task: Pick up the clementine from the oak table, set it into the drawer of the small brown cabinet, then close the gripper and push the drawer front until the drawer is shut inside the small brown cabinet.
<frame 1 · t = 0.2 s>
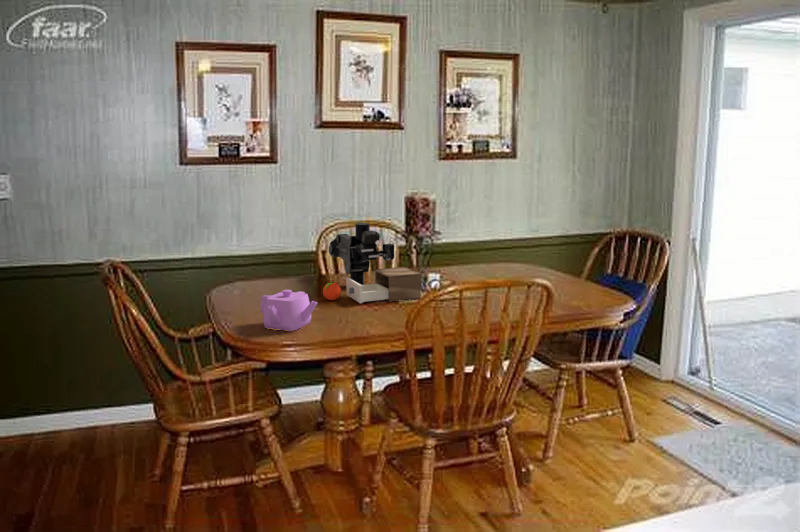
hand: (379, 257, 275), 17 cm above the table, tool horizontal, fingers open, 9 cm apart
clementine: (331, 300, 278), on the table
drawer: (367, 288, 278), point 4 cm above the table, slide at 11.0 cm
small brown cabinet: (397, 296, 284), on the table
teakettle: (288, 326, 243), on the table
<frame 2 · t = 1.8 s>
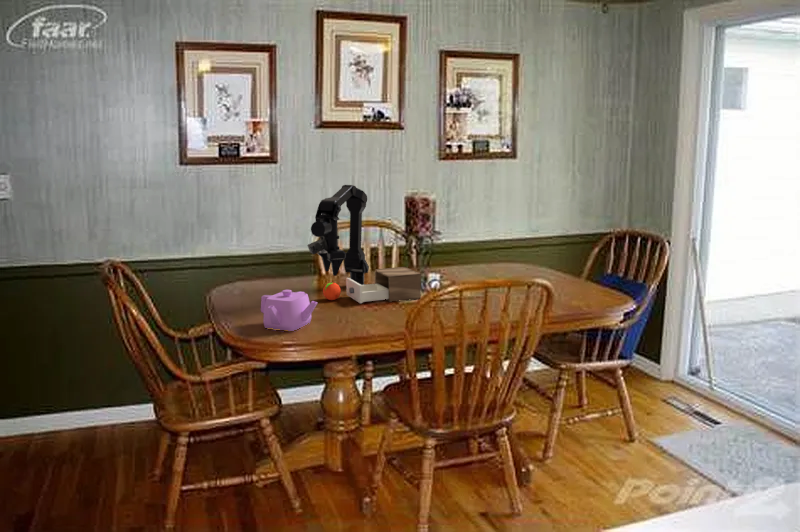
hand: (330, 273, 276), 11 cm above the table, tool pointing down, fingers open, 9 cm apart
nothing on the table moved.
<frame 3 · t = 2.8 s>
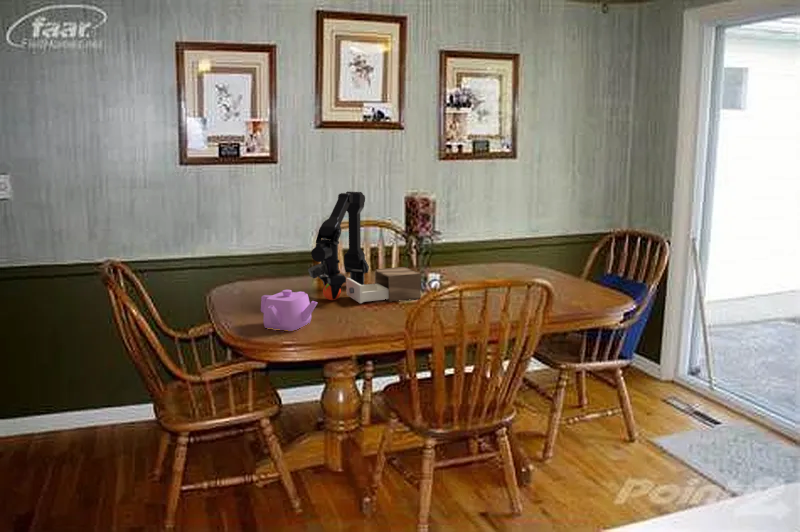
hand: (331, 296, 278), 1 cm above the table, tool pointing down, fingers closed on clementine, 7 cm apart
clementine: (331, 300, 278), on the table, touching gripper
everything else where it was.
when the fingers open (5 cm above the table, at t = 6.6 s): clementine drops 2 cm, resting on drawer.
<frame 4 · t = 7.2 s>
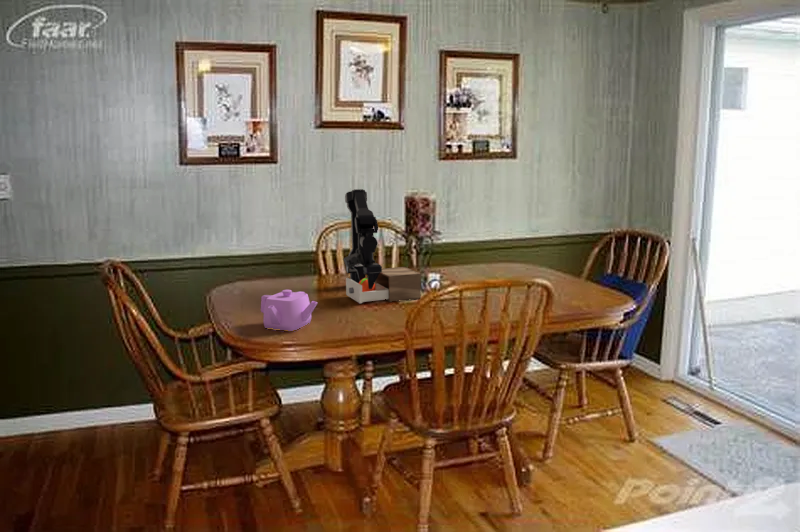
hand: (365, 286, 278), 5 cm above the table, tool pointing down, fingers open, 9 cm apart
clementine: (365, 296, 278), point 1 cm above the table, touching drawer
drawer: (366, 288, 278), point 4 cm above the table, slide at 11.1 cm, touching clementine
everything else where it was.
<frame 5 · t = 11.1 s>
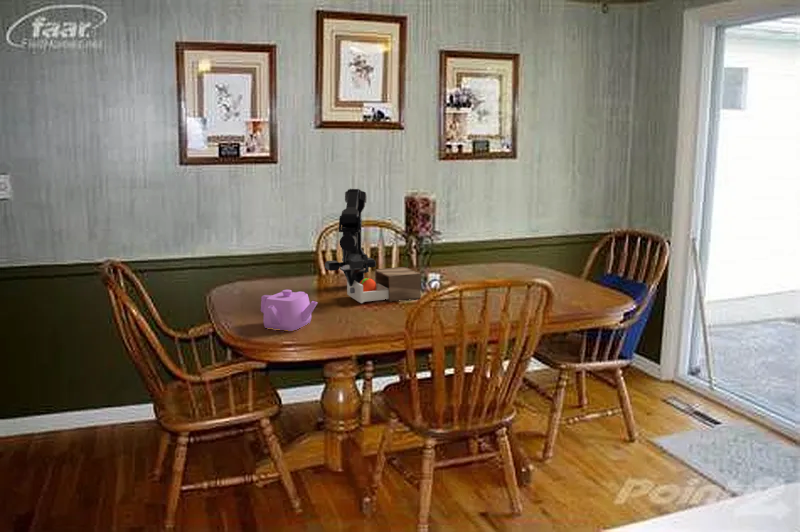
hand: (350, 286, 275), 6 cm above the table, tool pointing down, fingers closed
drawer: (367, 288, 278), point 4 cm above the table, slide at 10.7 cm, touching clementine, gripper
everything else where it was.
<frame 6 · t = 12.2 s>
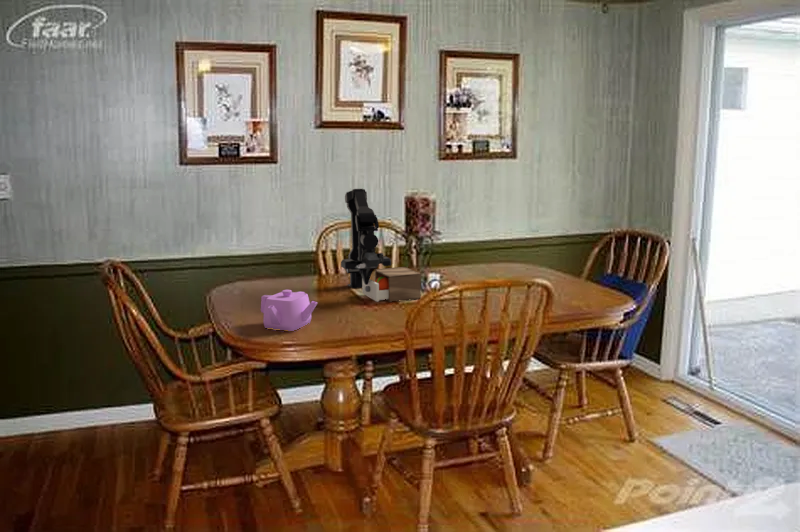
hand: (366, 284, 278), 6 cm above the table, tool pointing down, fingers closed
clementine: (382, 294, 281), point 1 cm above the table, touching drawer
drawer: (383, 287, 281), point 4 cm above the table, slide at 4.3 cm, touching clementine, gripper
everything else where it was.
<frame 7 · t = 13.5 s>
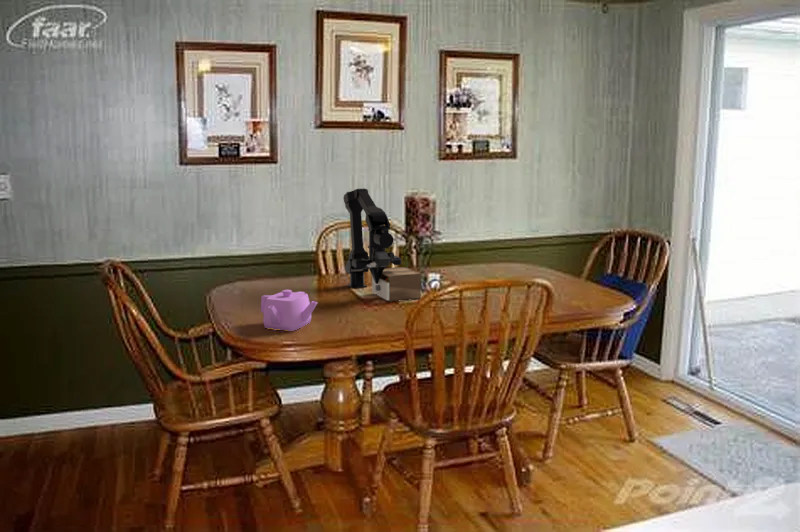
hand: (376, 283, 279), 6 cm above the table, tool pointing down, fingers closed
clementine: (392, 293, 283), point 1 cm above the table, touching drawer
drawer: (393, 286, 282), point 4 cm above the table, slide at 0.1 cm, touching clementine
everything else where it was.
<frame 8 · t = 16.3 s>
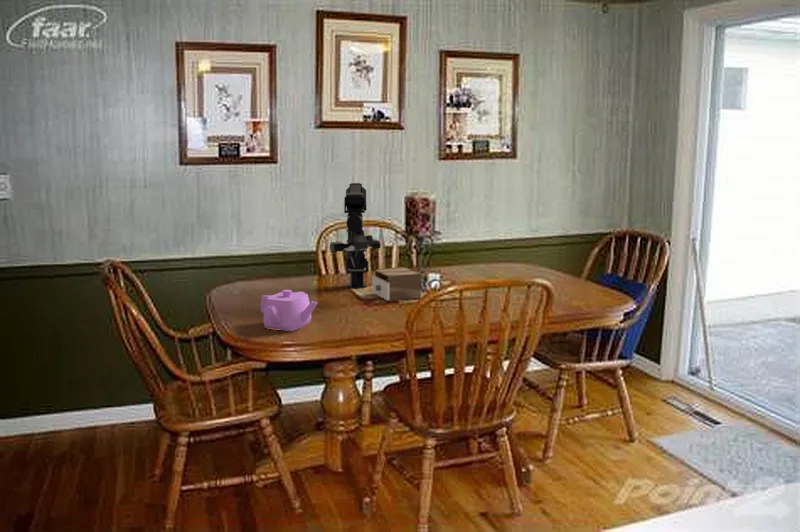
hand: (355, 267, 275), 13 cm above the table, tool pointing down, fingers closed
nothing on the table moved.
at the end: drawer slide at 0.0 cm; clementine inside the target area on the small brown cabinet (2.3 cm from its centre), point 1.3 cm above the small brown cabinet's base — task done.
